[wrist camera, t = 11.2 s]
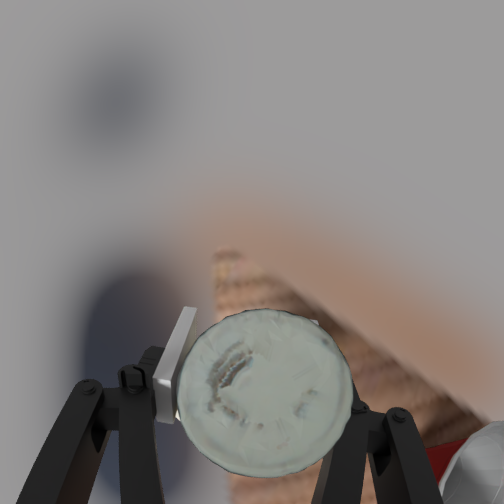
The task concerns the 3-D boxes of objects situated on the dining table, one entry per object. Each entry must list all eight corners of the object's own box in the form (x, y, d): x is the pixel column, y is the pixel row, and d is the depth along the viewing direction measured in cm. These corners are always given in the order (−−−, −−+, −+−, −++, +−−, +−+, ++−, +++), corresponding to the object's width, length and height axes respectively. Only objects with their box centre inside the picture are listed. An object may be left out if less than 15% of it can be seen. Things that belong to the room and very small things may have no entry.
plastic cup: (418, 405, 26) (498, 392, 16) (470, 456, 23) (548, 454, 13) (349, 488, 23) (412, 521, 12) (411, 533, 19) (480, 564, 9)
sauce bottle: (188, 376, 25) (85, 288, 7) (258, 350, 26) (313, 210, 9) (218, 448, 22) (181, 546, 4) (290, 419, 23) (429, 431, 6)
